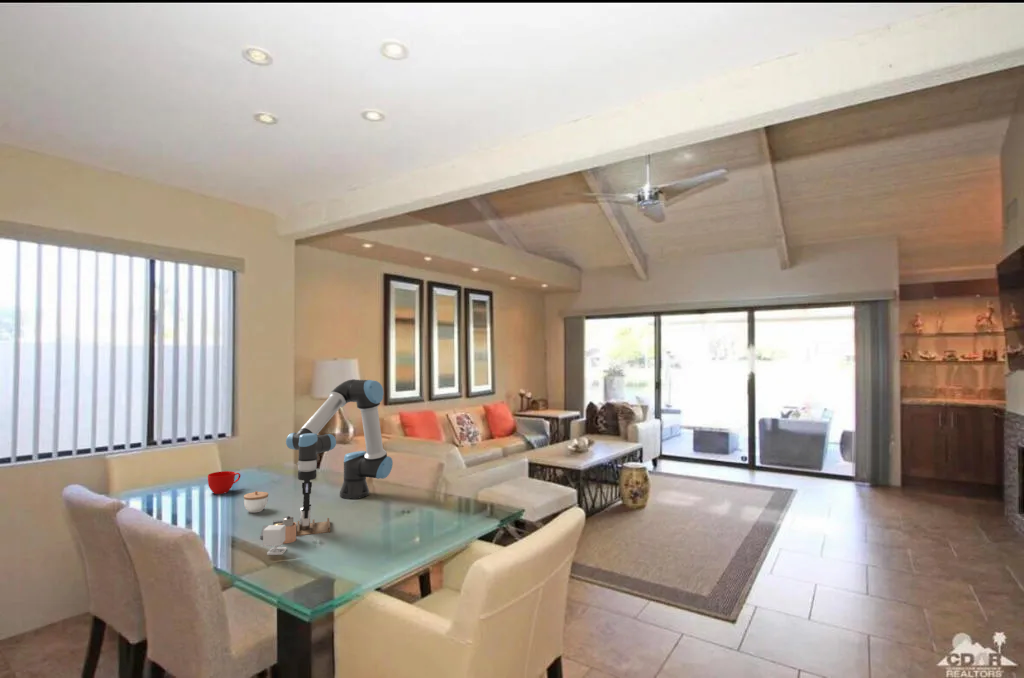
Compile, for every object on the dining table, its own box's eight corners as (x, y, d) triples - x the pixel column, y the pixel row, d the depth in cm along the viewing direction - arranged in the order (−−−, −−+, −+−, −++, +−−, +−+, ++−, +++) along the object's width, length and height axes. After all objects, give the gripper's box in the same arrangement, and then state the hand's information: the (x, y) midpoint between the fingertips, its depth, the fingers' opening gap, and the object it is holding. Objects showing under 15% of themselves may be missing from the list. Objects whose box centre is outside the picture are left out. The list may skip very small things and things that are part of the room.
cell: (309, 526, 228) (310, 504, 228) (310, 529, 224) (310, 507, 225) (300, 527, 227) (300, 505, 227) (300, 530, 223) (300, 508, 223)
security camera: (268, 550, 203) (269, 524, 203) (287, 550, 204) (287, 524, 204) (262, 556, 197) (263, 530, 197) (281, 556, 197) (282, 529, 198)
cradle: (295, 525, 232) (295, 518, 232) (294, 536, 218) (294, 529, 218) (263, 528, 228) (263, 521, 228) (260, 540, 213) (260, 533, 213)
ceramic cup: (246, 490, 288) (246, 472, 288) (215, 497, 274) (215, 478, 274) (233, 486, 295) (233, 468, 295) (202, 493, 280) (202, 474, 281)
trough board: (328, 523, 236) (329, 517, 236) (330, 533, 223) (330, 527, 223) (297, 526, 231) (297, 521, 231) (296, 536, 218) (296, 531, 218)
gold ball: (283, 529, 224) (283, 522, 224) (282, 532, 221) (283, 525, 221) (274, 530, 223) (274, 523, 223) (273, 533, 219) (273, 526, 219)
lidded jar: (258, 514, 246) (258, 494, 246) (238, 513, 248) (238, 493, 248) (272, 508, 256) (273, 489, 256) (253, 506, 258) (254, 487, 258)
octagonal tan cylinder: (296, 538, 217) (296, 521, 217) (295, 543, 211) (296, 526, 211) (279, 539, 214) (279, 522, 214) (278, 545, 208) (278, 527, 208)
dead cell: (293, 538, 215) (293, 514, 215) (292, 541, 211) (293, 517, 212) (282, 539, 214) (283, 515, 214) (281, 542, 210) (282, 518, 210)
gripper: (298, 466, 233) (296, 519, 232) (297, 474, 217) (296, 531, 217) (316, 465, 235) (314, 517, 235) (316, 473, 220) (315, 529, 219)
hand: (305, 523), depth 226 cm, fingers closed on cell, 3 cm apart
